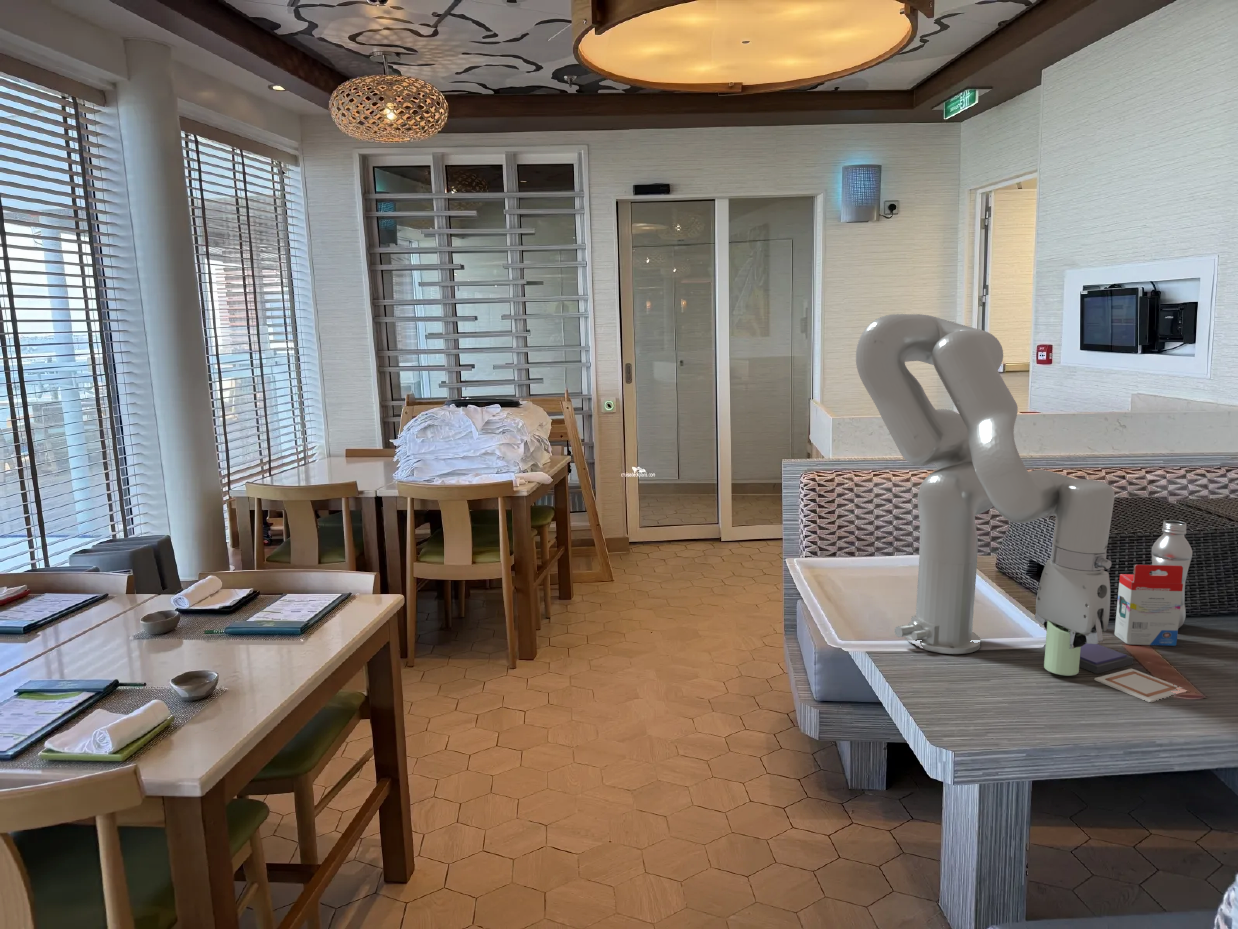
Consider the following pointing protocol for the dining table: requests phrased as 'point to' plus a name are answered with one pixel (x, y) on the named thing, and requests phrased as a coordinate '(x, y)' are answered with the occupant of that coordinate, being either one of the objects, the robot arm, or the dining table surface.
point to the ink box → (1149, 605)
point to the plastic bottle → (1173, 554)
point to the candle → (1060, 652)
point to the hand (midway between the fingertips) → (1062, 666)
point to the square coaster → (1139, 684)
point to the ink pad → (1102, 658)
